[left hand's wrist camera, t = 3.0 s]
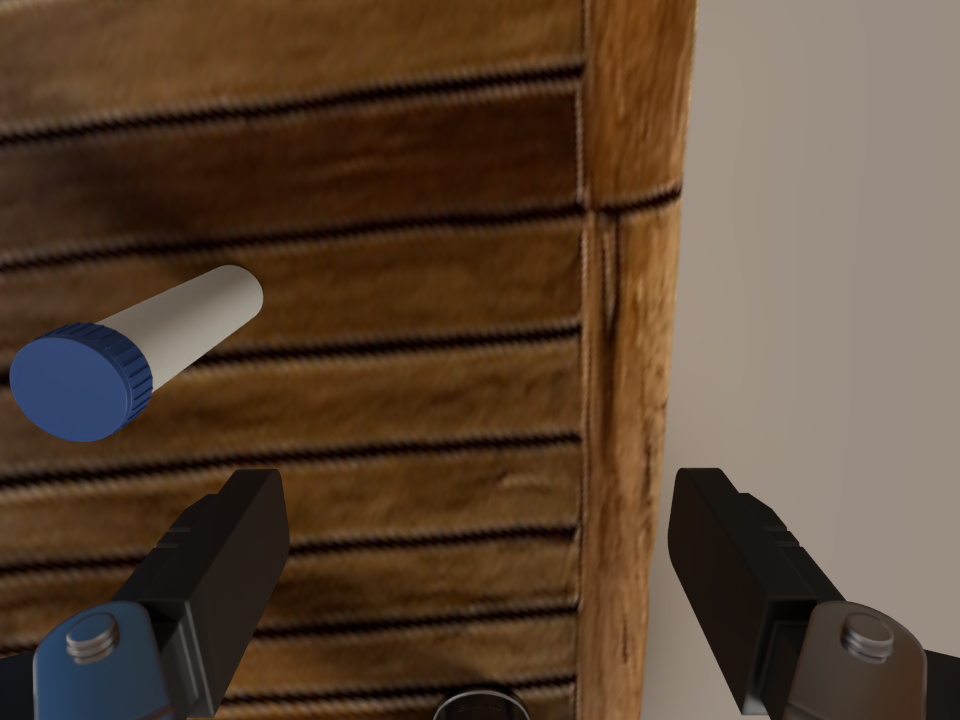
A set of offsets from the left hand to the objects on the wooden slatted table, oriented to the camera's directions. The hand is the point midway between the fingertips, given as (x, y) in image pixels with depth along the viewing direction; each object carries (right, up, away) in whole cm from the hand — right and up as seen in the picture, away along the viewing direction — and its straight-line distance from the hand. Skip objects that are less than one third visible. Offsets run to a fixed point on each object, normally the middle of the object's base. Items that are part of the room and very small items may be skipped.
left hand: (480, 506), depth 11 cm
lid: (-17, +2, +13) cm, 22 cm away
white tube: (-17, +8, +28) cm, 34 cm away
